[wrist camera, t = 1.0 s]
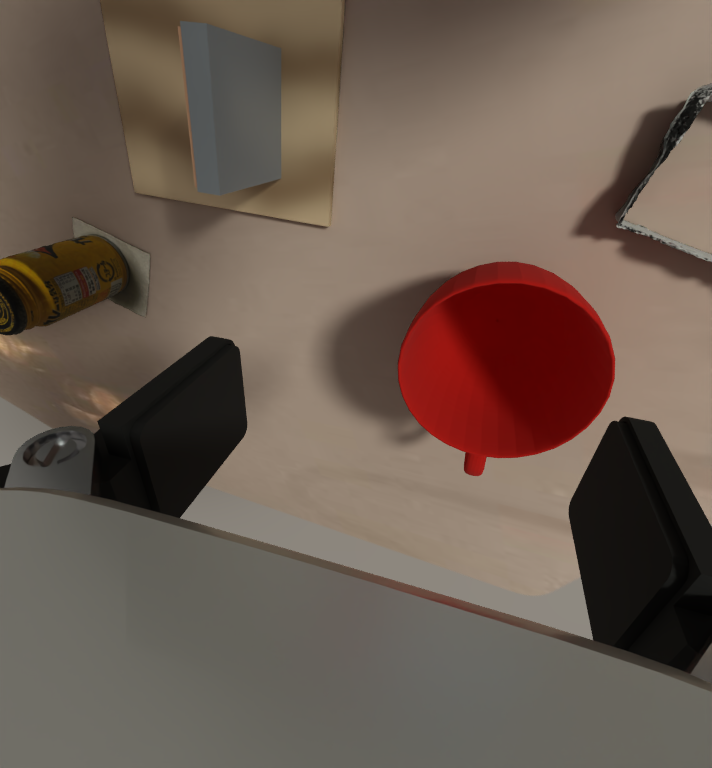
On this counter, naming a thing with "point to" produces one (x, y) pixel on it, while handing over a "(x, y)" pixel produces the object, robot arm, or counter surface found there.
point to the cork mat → (168, 104)
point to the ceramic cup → (505, 363)
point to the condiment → (71, 279)
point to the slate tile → (231, 107)
